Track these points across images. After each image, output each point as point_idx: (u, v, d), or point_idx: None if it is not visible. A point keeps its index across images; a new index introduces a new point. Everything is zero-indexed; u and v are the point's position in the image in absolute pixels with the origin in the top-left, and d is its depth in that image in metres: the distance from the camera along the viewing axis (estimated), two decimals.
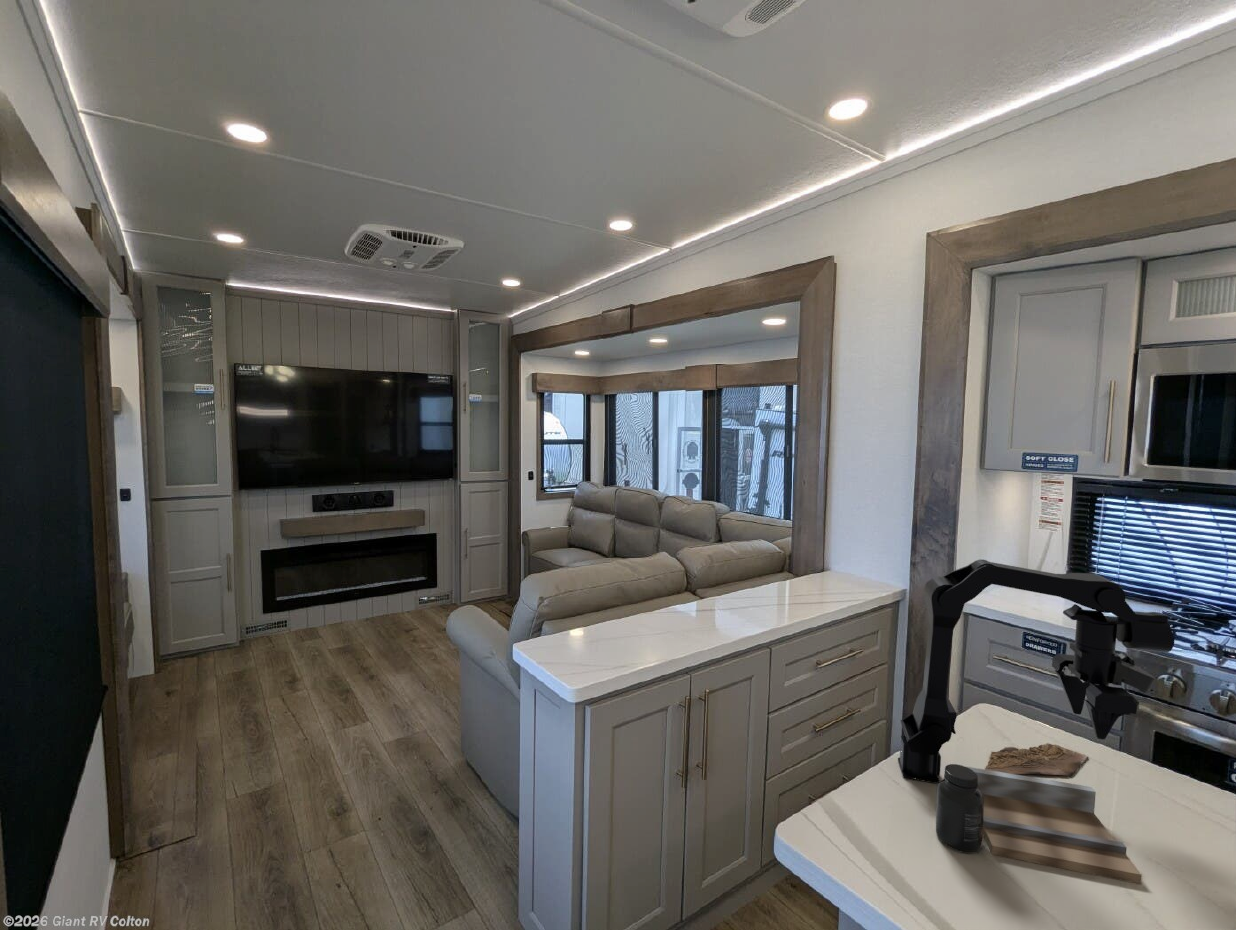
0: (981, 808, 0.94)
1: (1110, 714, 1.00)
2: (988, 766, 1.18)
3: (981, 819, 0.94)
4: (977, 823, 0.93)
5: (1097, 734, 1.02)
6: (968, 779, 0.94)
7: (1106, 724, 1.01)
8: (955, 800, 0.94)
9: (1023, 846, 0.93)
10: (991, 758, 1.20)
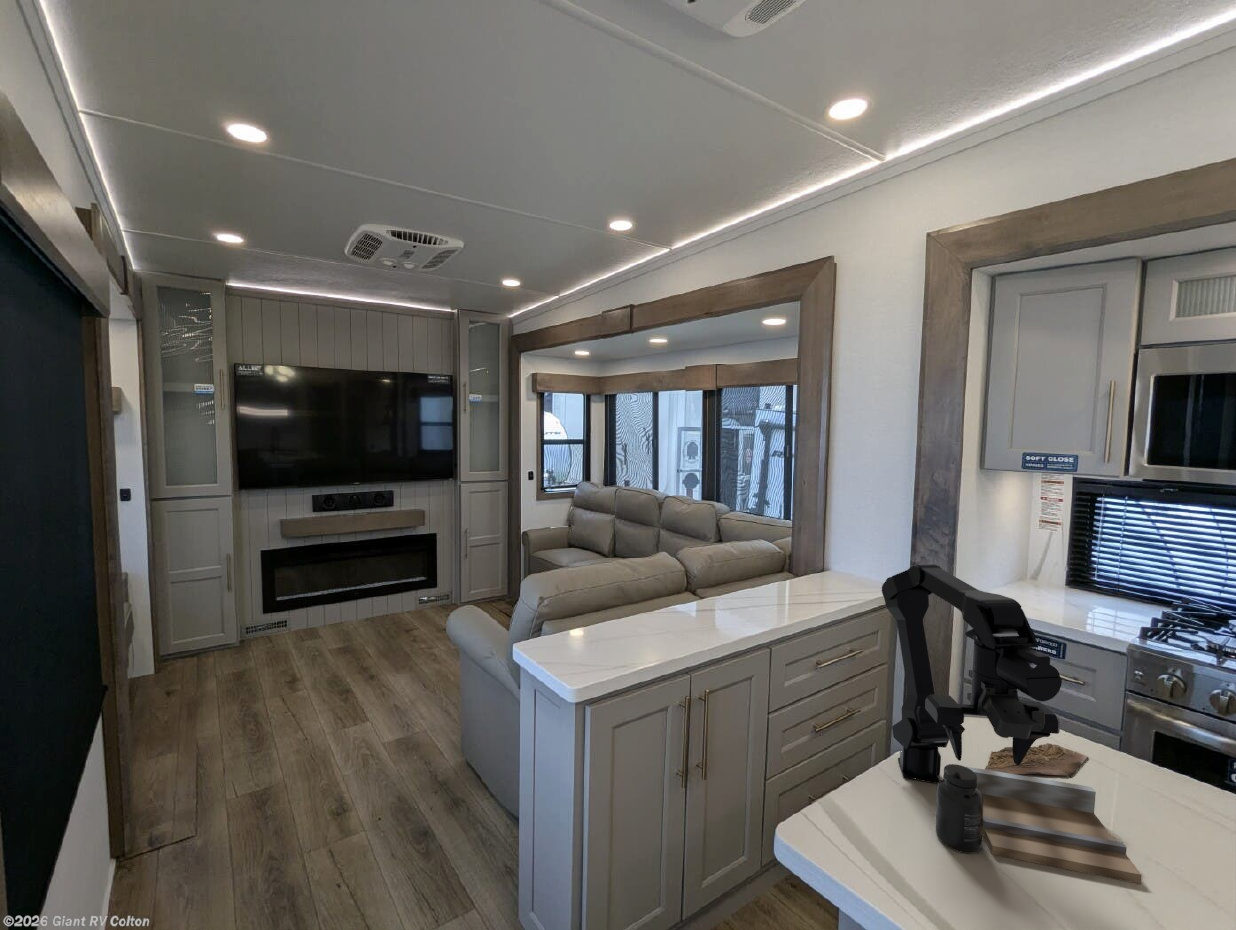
0: (980, 808, 0.94)
1: None
2: (988, 766, 1.18)
3: (981, 819, 0.94)
4: (976, 823, 0.93)
5: (954, 751, 0.98)
6: (967, 779, 0.94)
7: (952, 740, 0.97)
8: (954, 800, 0.94)
9: (1023, 846, 0.93)
10: (991, 758, 1.20)
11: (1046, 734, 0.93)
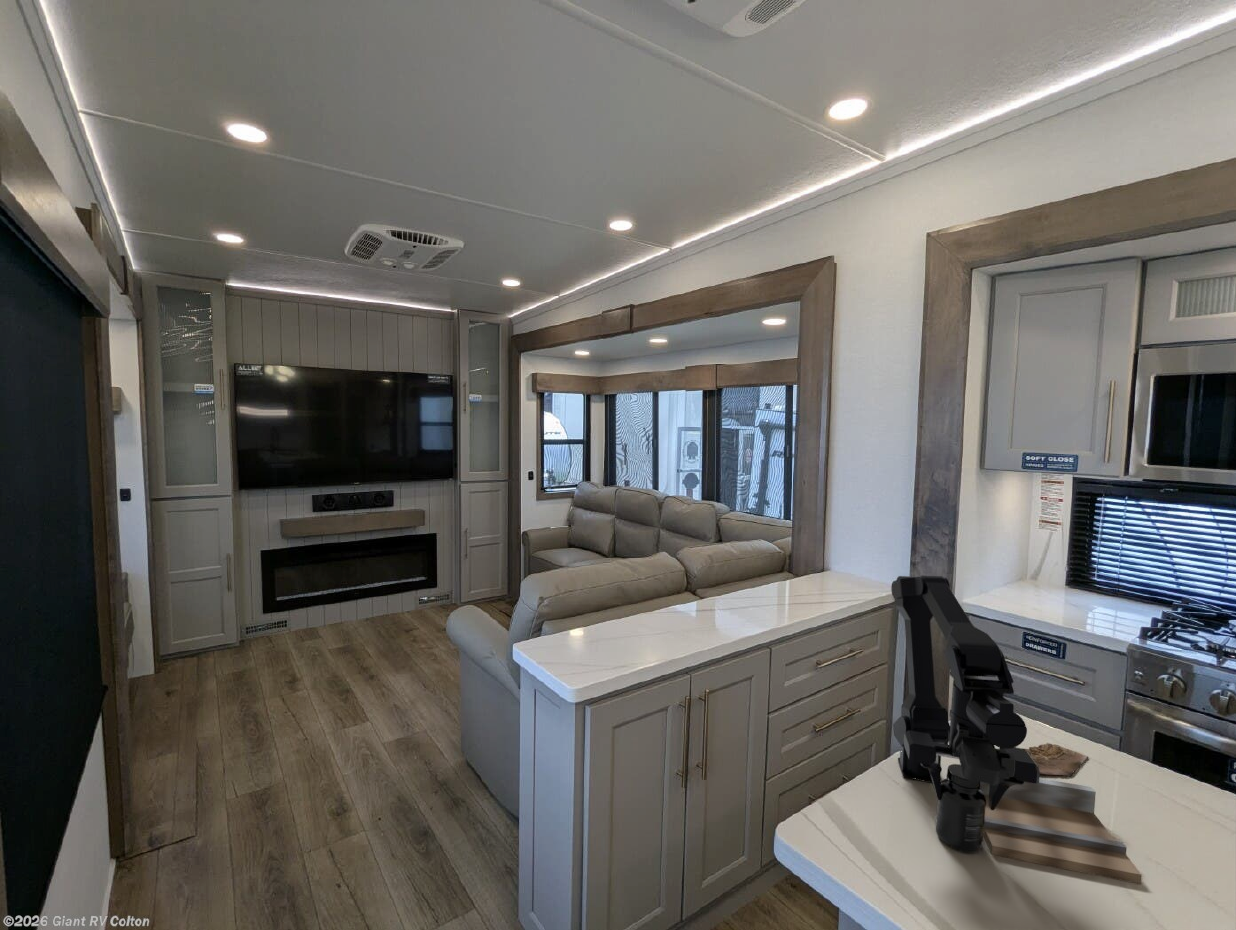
0: (983, 809, 0.93)
1: None
2: None
3: (982, 819, 0.94)
4: (978, 823, 0.93)
5: (935, 790, 0.98)
6: None
7: (932, 779, 0.97)
8: (957, 800, 0.94)
9: (1023, 846, 0.93)
10: None
11: (1019, 782, 0.91)
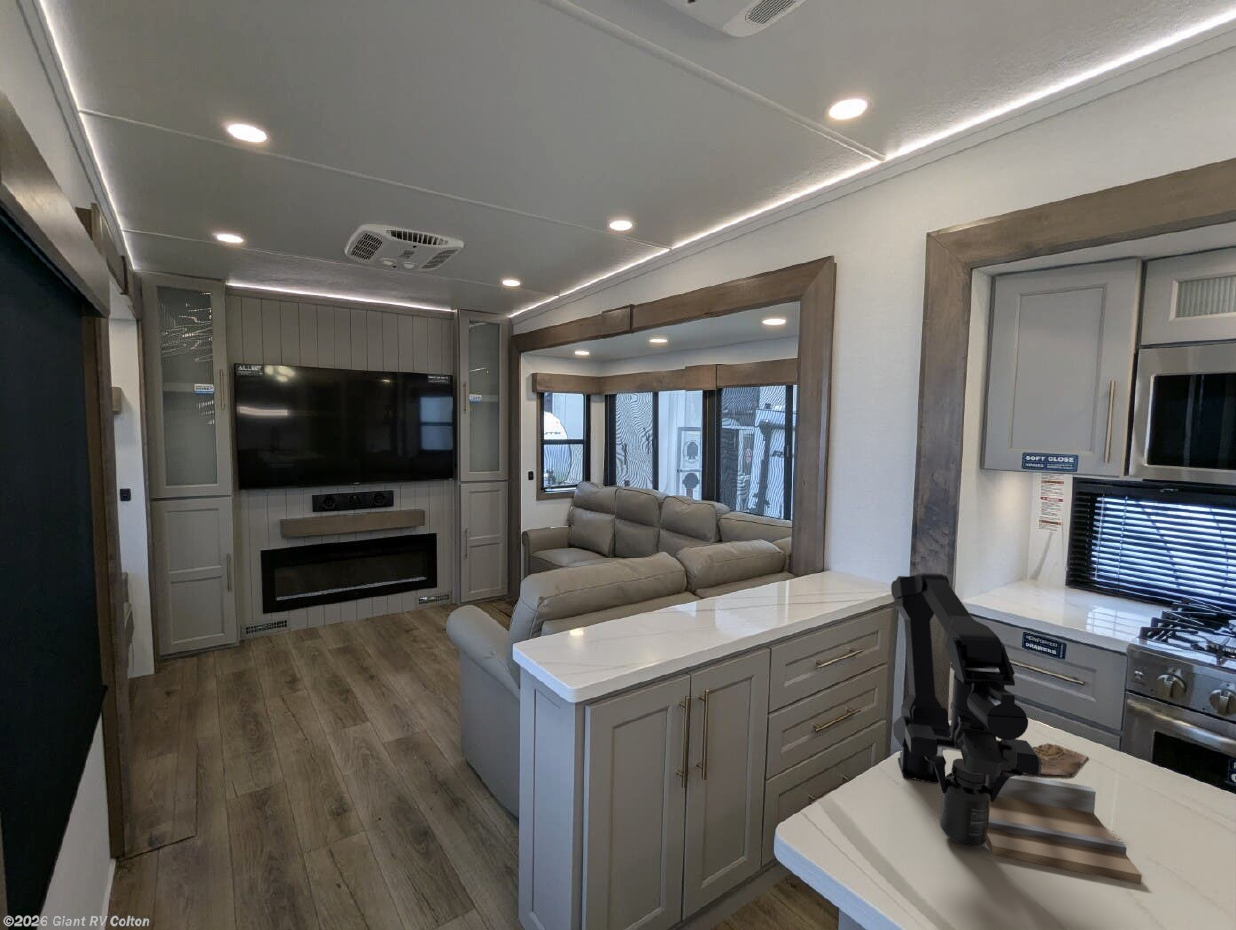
0: (988, 803, 0.93)
1: None
2: None
3: (987, 814, 0.93)
4: (983, 817, 0.93)
5: None
6: (976, 774, 0.93)
7: (937, 772, 0.97)
8: (962, 795, 0.93)
9: (1023, 846, 0.93)
10: None
11: (1018, 773, 0.91)
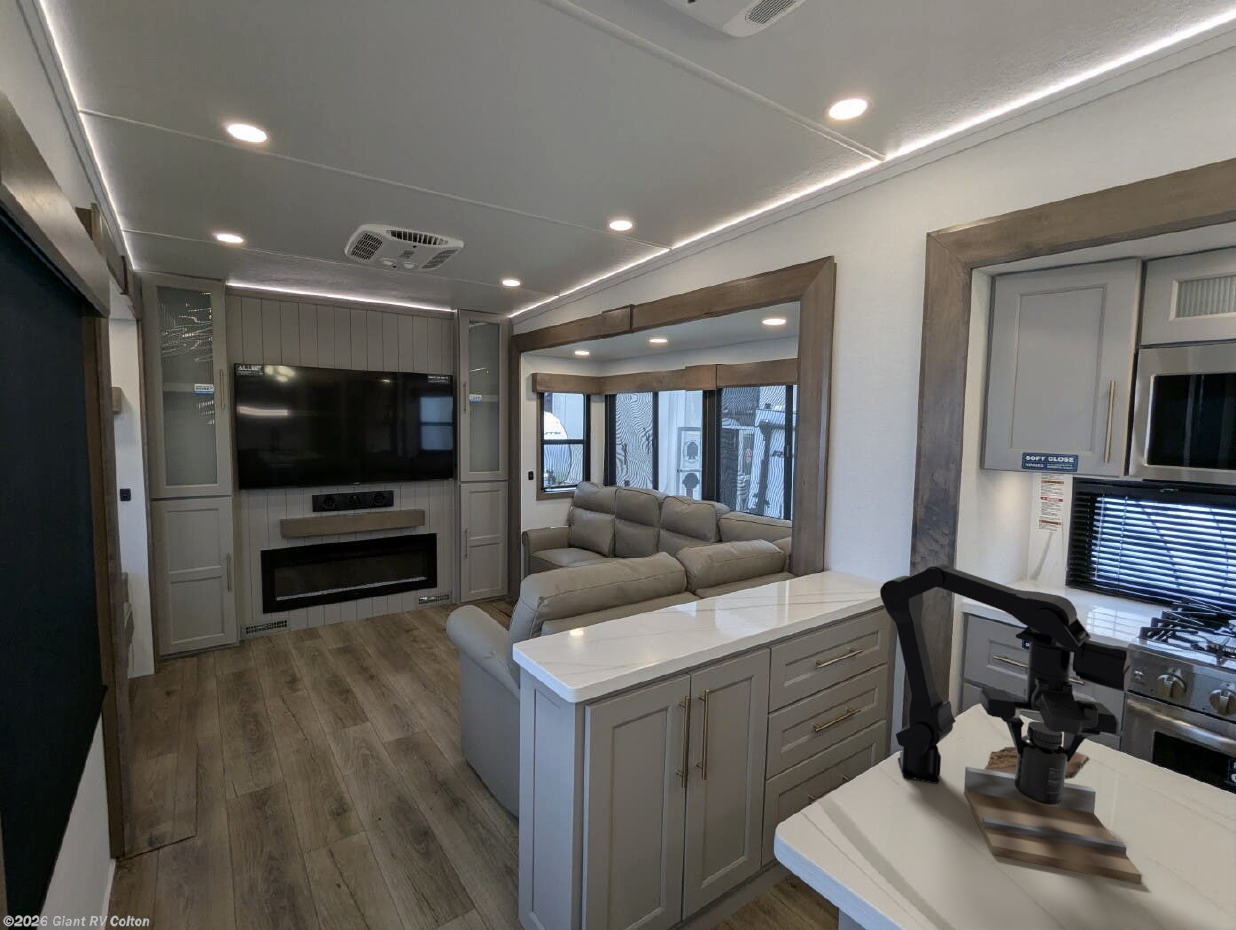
0: (1065, 763, 0.96)
1: None
2: (988, 766, 1.18)
3: (1064, 773, 0.97)
4: (1060, 776, 0.96)
5: (1014, 745, 1.01)
6: (1053, 735, 0.97)
7: (1013, 734, 1.00)
8: (1040, 754, 0.97)
9: (1023, 846, 0.93)
10: (991, 758, 1.20)
11: (1096, 732, 0.94)
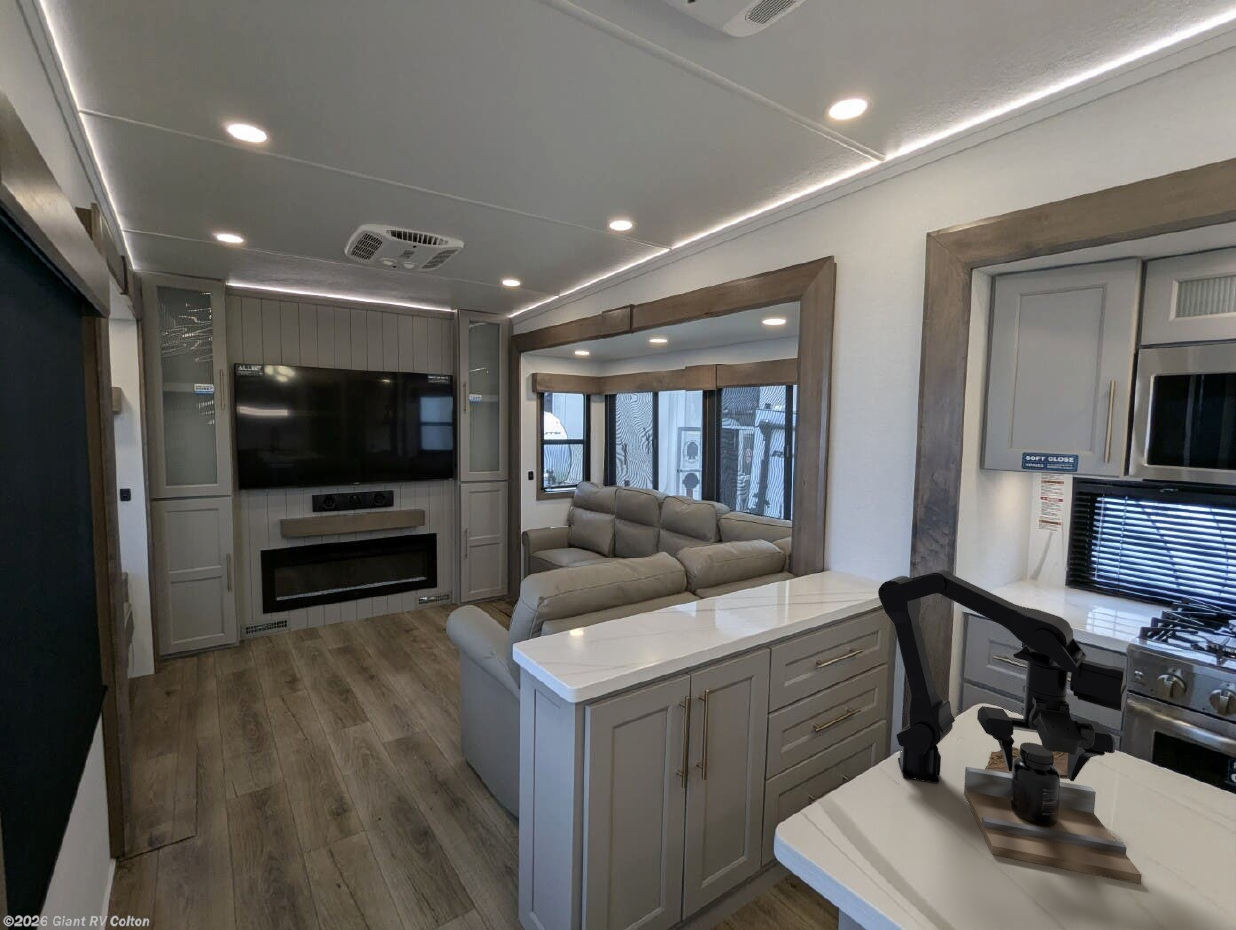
0: (1058, 783, 0.98)
1: None
2: (988, 766, 1.18)
3: (1058, 794, 0.98)
4: (1054, 797, 0.98)
5: (1005, 762, 1.02)
6: (1044, 756, 0.98)
7: (1003, 751, 1.02)
8: (1033, 776, 0.98)
9: (1023, 846, 0.93)
10: (991, 758, 1.20)
11: (1100, 753, 0.95)
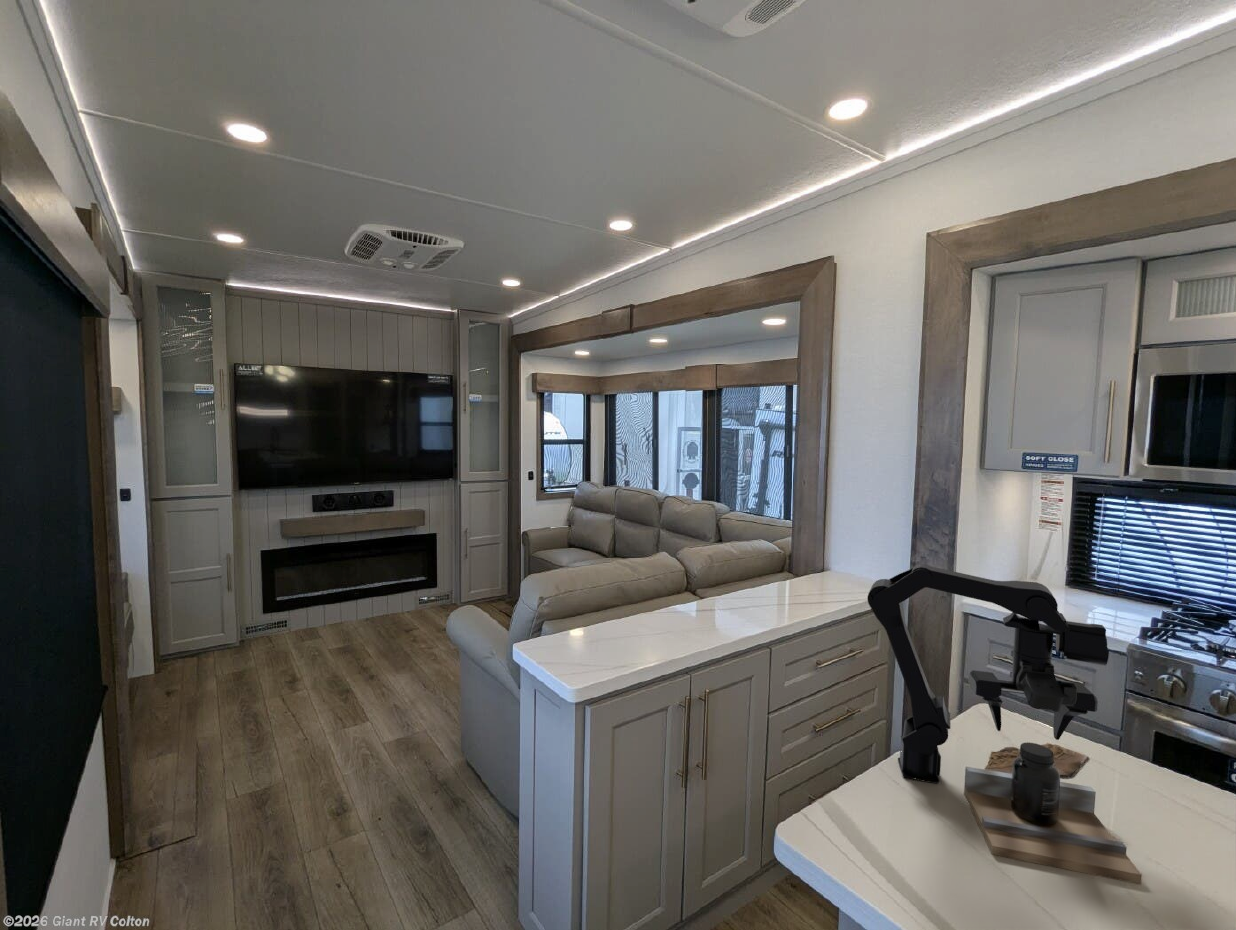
0: (1058, 783, 0.98)
1: None
2: (988, 766, 1.18)
3: (1058, 794, 0.98)
4: (1054, 797, 0.98)
5: (995, 723, 1.08)
6: (1045, 756, 0.98)
7: (993, 712, 1.07)
8: (1033, 776, 0.98)
9: (1023, 846, 0.93)
10: (991, 758, 1.20)
11: (1083, 711, 1.01)
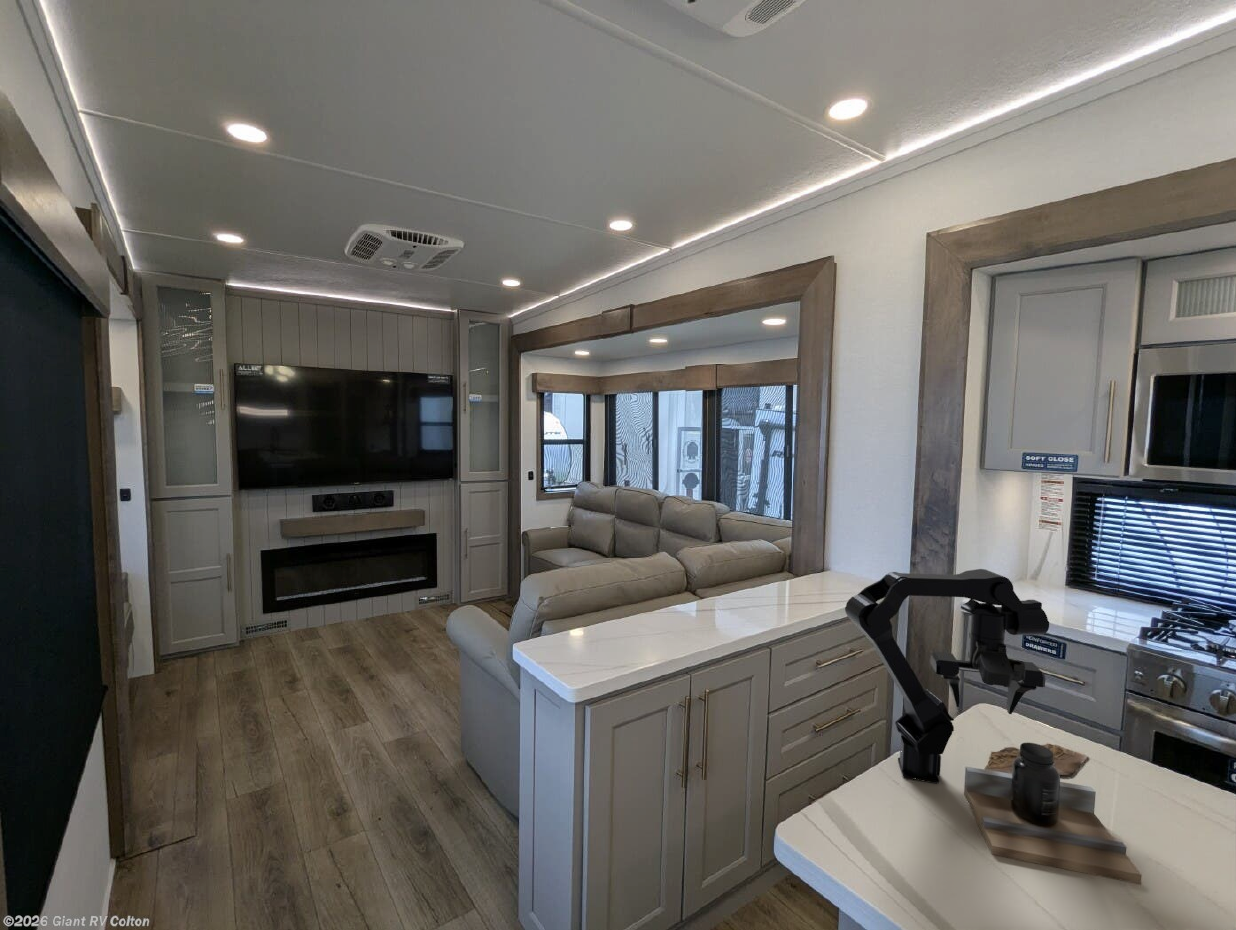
0: (1058, 783, 0.98)
1: None
2: (988, 766, 1.18)
3: (1058, 794, 0.98)
4: (1054, 797, 0.98)
5: (954, 700, 1.17)
6: (1045, 756, 0.98)
7: (952, 690, 1.16)
8: (1033, 776, 0.98)
9: (1023, 846, 0.93)
10: (991, 758, 1.20)
11: (1032, 687, 1.10)
